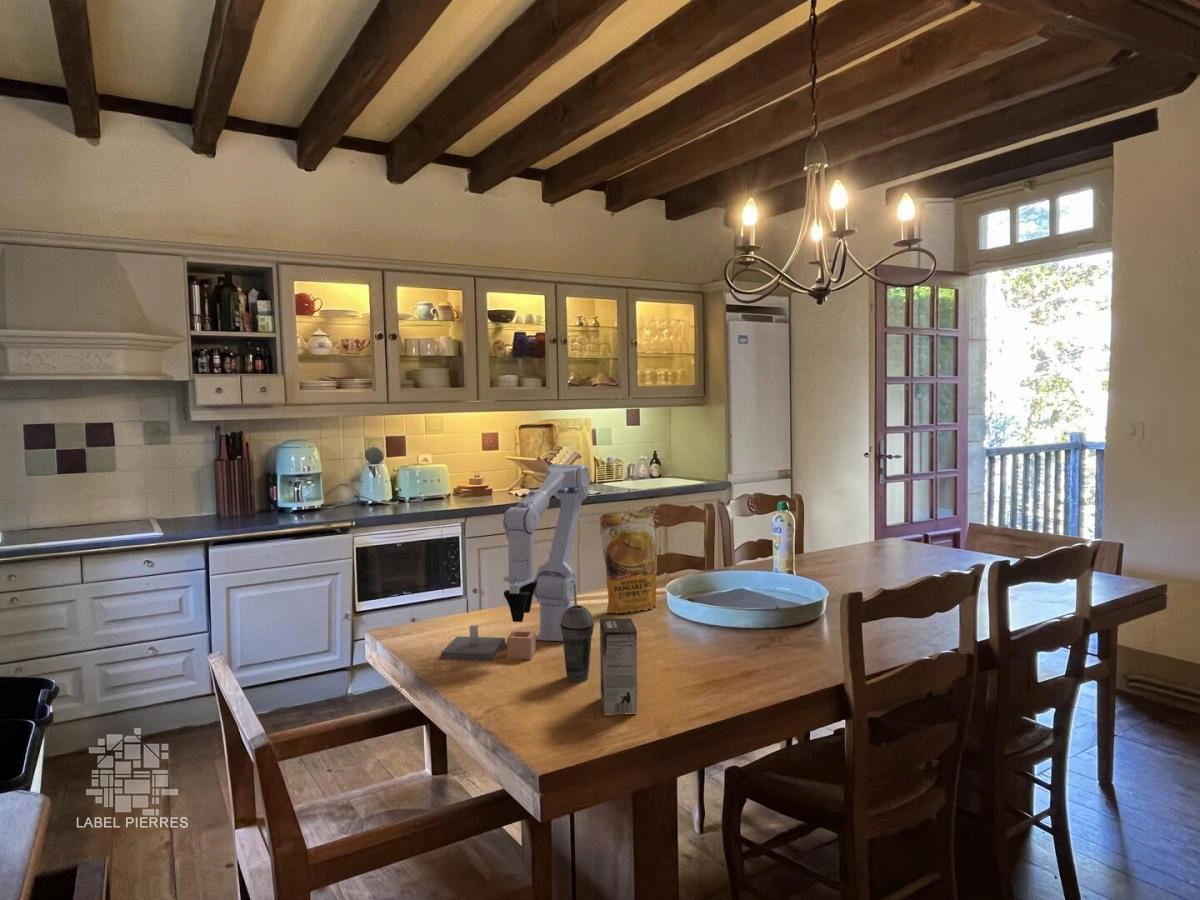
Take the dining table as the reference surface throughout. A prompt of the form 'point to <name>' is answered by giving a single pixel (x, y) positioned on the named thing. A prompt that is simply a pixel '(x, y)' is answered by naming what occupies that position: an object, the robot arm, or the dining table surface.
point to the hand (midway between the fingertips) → (521, 616)
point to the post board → (473, 646)
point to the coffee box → (618, 665)
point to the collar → (521, 645)
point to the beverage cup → (577, 640)
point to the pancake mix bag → (629, 560)
